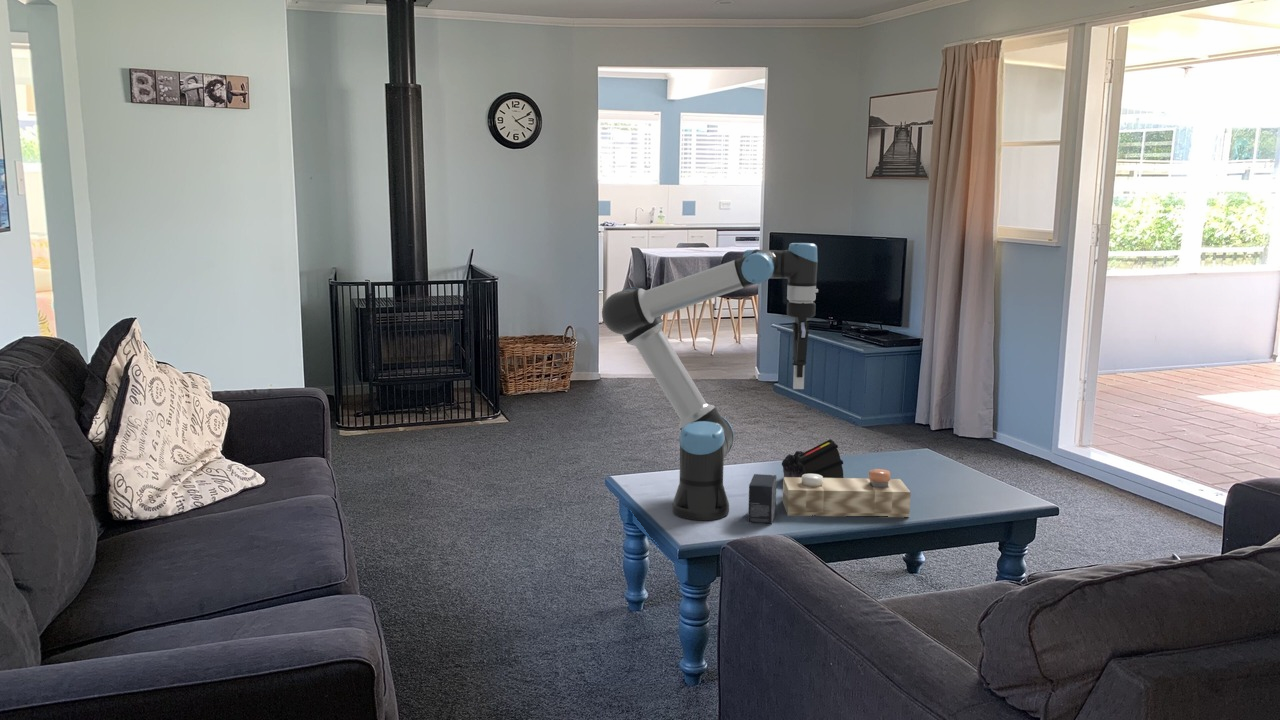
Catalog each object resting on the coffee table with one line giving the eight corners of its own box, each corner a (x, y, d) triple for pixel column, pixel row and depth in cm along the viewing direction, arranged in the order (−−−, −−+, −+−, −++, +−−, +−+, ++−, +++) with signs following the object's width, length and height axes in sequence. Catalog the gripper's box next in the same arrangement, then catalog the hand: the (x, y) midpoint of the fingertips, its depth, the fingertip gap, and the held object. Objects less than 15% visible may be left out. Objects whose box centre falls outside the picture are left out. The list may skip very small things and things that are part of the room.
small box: (752, 510, 261) (753, 472, 260) (776, 512, 260) (777, 474, 258) (746, 523, 251) (748, 484, 249) (772, 525, 250) (773, 486, 248)
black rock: (826, 477, 295) (824, 445, 295) (829, 486, 282) (827, 452, 281) (782, 479, 297) (780, 446, 296) (782, 488, 284) (781, 454, 283)
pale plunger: (802, 506, 260) (803, 479, 259) (799, 499, 265) (800, 473, 264) (823, 506, 260) (824, 479, 259) (820, 500, 265) (821, 473, 264)
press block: (787, 515, 257) (788, 490, 256) (782, 501, 269) (783, 477, 268) (909, 517, 256) (910, 492, 255) (898, 503, 268) (900, 479, 267)
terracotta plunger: (870, 501, 259) (871, 474, 258) (865, 495, 265) (867, 468, 263) (891, 502, 259) (892, 474, 258) (886, 495, 265) (887, 469, 263)
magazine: (855, 486, 278) (835, 441, 275) (814, 507, 277) (794, 462, 274) (850, 482, 282) (831, 438, 278) (810, 503, 281) (790, 458, 277)
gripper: (819, 304, 251) (815, 393, 255) (812, 299, 264) (808, 384, 268) (790, 303, 251) (787, 393, 255) (784, 298, 264) (781, 383, 268)
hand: (798, 388), depth 262 cm, fingers closed
